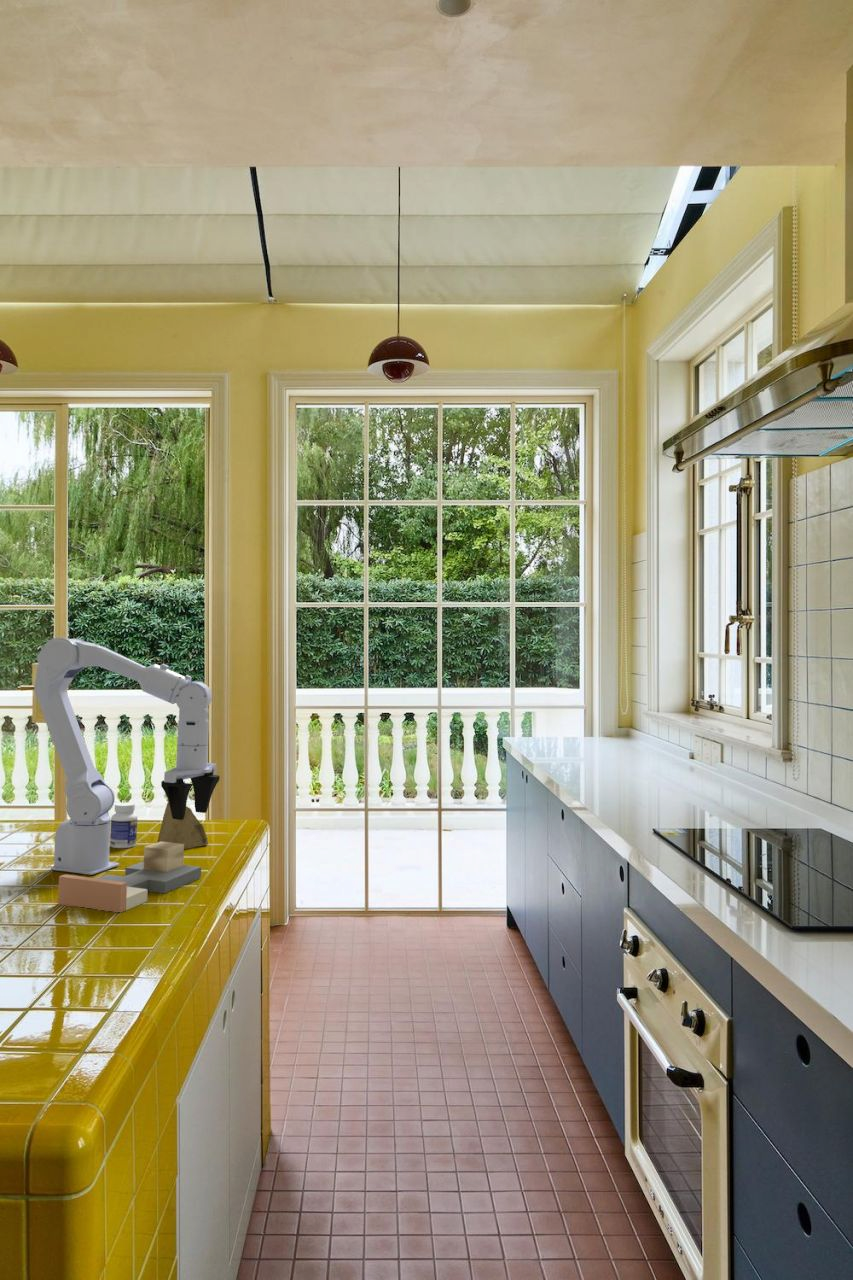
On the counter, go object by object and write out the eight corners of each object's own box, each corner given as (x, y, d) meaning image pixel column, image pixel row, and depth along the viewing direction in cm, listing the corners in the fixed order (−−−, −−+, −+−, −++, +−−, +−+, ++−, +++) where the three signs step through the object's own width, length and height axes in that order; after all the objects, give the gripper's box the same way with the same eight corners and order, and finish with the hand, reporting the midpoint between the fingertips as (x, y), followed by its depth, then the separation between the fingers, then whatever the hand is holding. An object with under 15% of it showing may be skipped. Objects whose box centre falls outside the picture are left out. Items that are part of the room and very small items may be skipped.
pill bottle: (134, 848, 176) (135, 806, 176) (107, 849, 175) (109, 806, 176) (138, 843, 182) (139, 801, 182) (112, 843, 181) (114, 801, 181)
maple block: (143, 869, 153) (144, 847, 153) (160, 862, 158) (160, 841, 158) (167, 872, 151) (167, 849, 151) (183, 865, 156) (184, 844, 156)
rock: (213, 830, 186) (168, 823, 185) (215, 804, 181) (168, 796, 180) (201, 870, 177) (153, 863, 176) (202, 843, 172) (153, 836, 171)
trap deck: (58, 904, 137) (59, 876, 137) (145, 870, 159) (146, 847, 159) (119, 913, 134) (120, 884, 134) (200, 877, 156) (201, 853, 156)
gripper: (188, 749, 153) (185, 824, 153) (231, 742, 167) (228, 811, 167) (155, 747, 155) (152, 820, 155) (200, 740, 169) (197, 807, 169)
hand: (189, 815), depth 161 cm, fingers open, 7 cm apart
